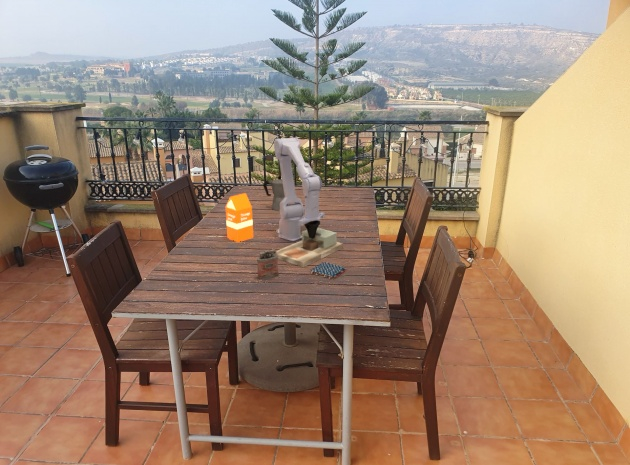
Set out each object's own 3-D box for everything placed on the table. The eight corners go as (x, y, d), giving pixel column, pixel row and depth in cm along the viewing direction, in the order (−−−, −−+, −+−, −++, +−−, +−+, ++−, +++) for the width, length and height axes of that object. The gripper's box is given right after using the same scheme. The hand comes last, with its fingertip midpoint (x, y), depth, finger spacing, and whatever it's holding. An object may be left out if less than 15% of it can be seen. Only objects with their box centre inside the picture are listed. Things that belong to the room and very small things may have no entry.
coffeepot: (290, 205, 256) (290, 173, 250) (293, 210, 247) (293, 177, 241) (263, 207, 253) (261, 174, 247) (265, 212, 244) (263, 178, 238)
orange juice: (253, 237, 208) (251, 194, 201) (237, 242, 202) (235, 198, 195) (242, 233, 213) (240, 191, 206) (227, 238, 207) (224, 195, 200)
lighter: (259, 279, 166) (258, 254, 163) (256, 276, 169) (255, 251, 166) (280, 275, 170) (279, 250, 166) (276, 272, 172) (275, 247, 169)
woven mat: (333, 281, 166) (333, 276, 165) (309, 274, 172) (309, 269, 171) (347, 271, 174) (347, 266, 174) (323, 265, 180) (323, 260, 179)
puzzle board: (273, 257, 186) (272, 252, 185) (313, 239, 205) (313, 234, 204) (303, 267, 177) (303, 262, 176) (342, 247, 196) (342, 243, 195)
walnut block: (302, 252, 191) (302, 242, 190) (309, 249, 195) (309, 239, 193) (311, 254, 189) (311, 244, 187) (317, 251, 192) (317, 241, 190)
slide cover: (302, 241, 196) (302, 229, 194) (313, 236, 202) (313, 224, 200) (325, 248, 189) (325, 236, 187) (336, 243, 194) (336, 230, 193)
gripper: (307, 212, 178) (308, 244, 183) (330, 204, 189) (330, 235, 193) (294, 208, 182) (294, 240, 187) (317, 201, 193) (317, 231, 197)
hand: (311, 237), depth 190 cm, fingers closed
